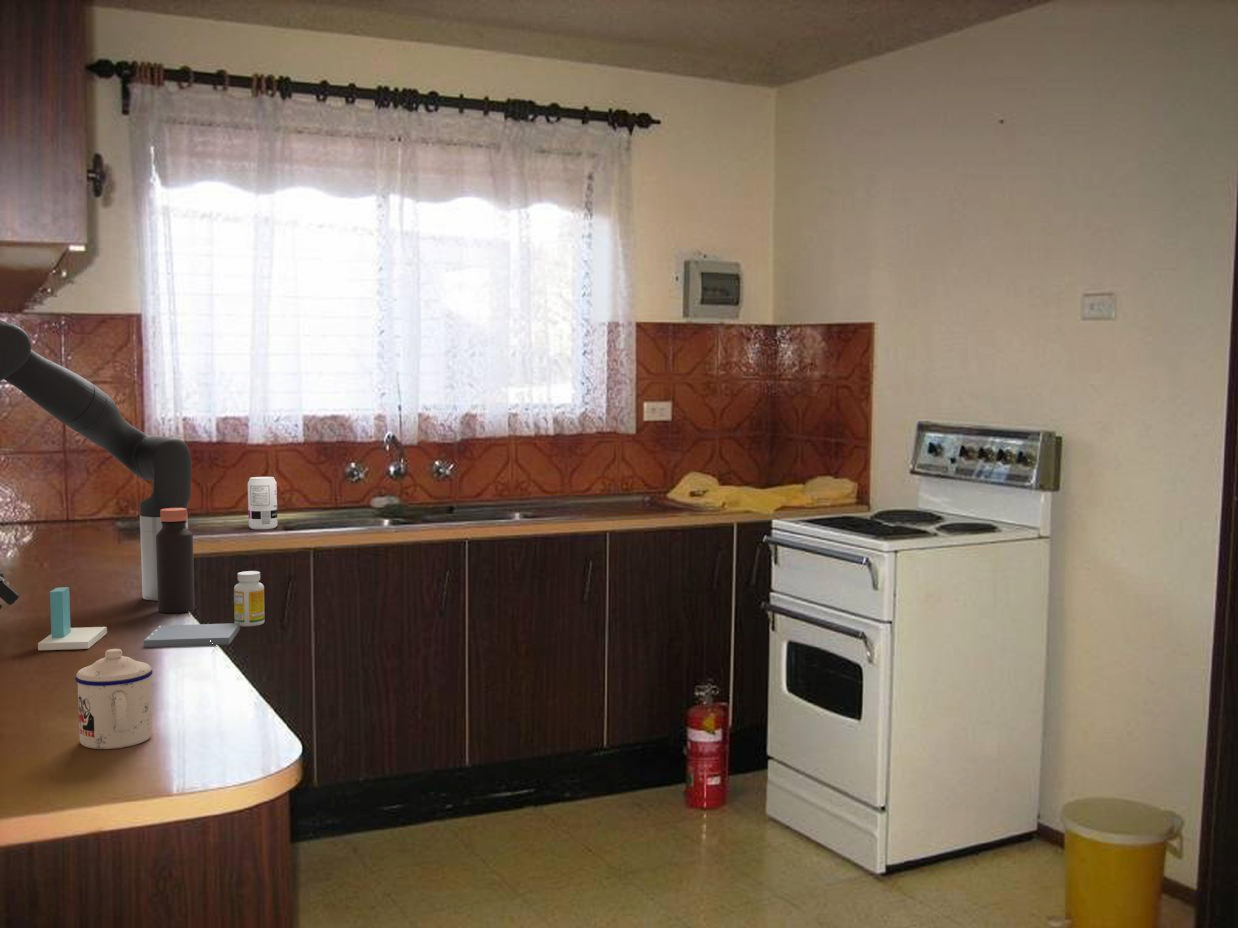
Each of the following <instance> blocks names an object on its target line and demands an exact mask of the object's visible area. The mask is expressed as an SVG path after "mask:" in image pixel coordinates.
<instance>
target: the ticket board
mask: <svg viewBox="0 0 1238 928" xmlns="http://www.w3.org/2000/svg"><path fill="white" fill-rule="evenodd" d="M240 630H241V626H240V623H235V622H233V623H229V622H228V623H202V624H201V623H200V624H198V623H197V624H171V625H168V624H167V625H158V626H157V627H156V628H155V629H154V630H153V631H152V632H151V633H150V634H148V636H147V637H145V639H143V647H144V648H161V647H187V646H193V647H194V646H216V645H217V646H222V645H230V644H231V643H232V641H233V640H234V638H235V637H236V636H237V635H238V633H239V632H240ZM210 640H211V642H210ZM212 643H213V644H214V645H212Z"/></svg>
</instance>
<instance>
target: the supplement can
mask: <svg viewBox="0 0 1238 928" xmlns="http://www.w3.org/2000/svg"><path fill="white" fill-rule="evenodd" d="M277 487H278V483H277V481H276V479H275V477H274V476H253V477H252V476H251V477H249V479H248V481H247V506H248V508H247V509H248V511H247V512H248V514H247V515H248V527H249V528H250V529H251V530H260V531H261V530H272V529H275V528H276V527H277V526H278V524H279V523H278V495H277V494H278V488H277Z"/></svg>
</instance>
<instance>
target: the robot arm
mask: <svg viewBox="0 0 1238 928" xmlns="http://www.w3.org/2000/svg"><path fill="white" fill-rule="evenodd" d="M3 380H4V381H5V382H7V383H9V384H11V385H12V386H13V387H15V388H17V390H19V391H21V392H22V393H23V394H24V395H26V396H27V397H28V398H29V399H30V400H31V401H33V402H34V403H35V404H37V405H38V406H40V408H42V409H43V410H45V411H46V412H47V413H48V414H50V415H51V416H52V417H54V418H55V419H56V420H58V421H59V422H61V423H62V424H64V425H66V426H67V427H68V428H70V429H71V430H73V431H75V432H76V433H78V434H80V435H81V436H83V437H84V438H86V439H88V440H89V441H90V442H92V443H94V444H95V445H97V446H98V447H100V448H102V449H103V450H106V451H107V452H108V453H109V454H110V455H111V456H113V457H114V458H116V460H118V461H119V462H120V463H121V464H122V465H124V466H125V467H126V468H127V469H128V470H129V471H130V472H132V473H133V474H134V475H135V476H137V477H139V478H141V479H143V480H145V481H149V482H153V484H152V485H153V486H152V493H151V495H150V496H149V497H147V498H145V499H143V500H142V501H140V503H139V529H140V532H139V533H140V556H141V557H140V561H141V564H140V565H141V591H142V599H143V600H145V601H146V600H147V601H158V588H157V556H156V535H157V534H158V532H159V531H160V530H161V529H162V528H163V527H162V523H161V522H162V521H161V520H160V510H161V509H166V508H186V509H187V510H188V507H189V506H188V505H189V504H190V501H191V496H192V472H193V471H192V470H193V469H192V466H193V465H192V455H191V451H190V448H189V446H188V445H187V443H186V442H185V441H183V440H182V439H181V438H178V437H173V436H172V437H170V436H154V435H149V434H147V433H145V432H143V431H142V430H140V429H138V428H137V427H135V426H133V425H132V424H130V423H129V421H128V422H127V420H125V418H123V415H122V414H121V412H120V410H119V408H118V406H117V405H116V403H115V401H114V400H113V399H112V398H111V396H109V395H108V394H107V393H106V392H104V391H103V390H102V389H100V388H99V387H98V386H96V385H95V384H93V383H92V382H91V381H89V380H87V379H86V378H84V377H82V376H81V375H79V374H78V373H75V372H74V371H71V370H70V369H68V368H66V367H64V366H63V365H60V364H58V363H55V362H54V361H52V360H49V359H47V358H45V357H43V356H42V355H40V354H39V353H37V352H36V351H35V350H33V349H32V343H31V339H30V337H29V335H28V333H27V332H26V331H25V330H24V329H23V328H22V327H19V326H18V325H16V324H13V323H11V322H8V321H5V320H1V319H0V382H2V381H3ZM186 521H187V522H186V528H187V529H188V530H189V523H188V522H189V520H188V515H187V520H186ZM5 577H6V575H5V573H3V572H2V571H1V570H0V599H1V600H3V602H4V603H6V604H7V605H8V606H11V605H13V604H15V602H17V600H19V599H20V595H19V593H17V592H16V591H15V590H14V589H13V588H12V587H10V585H8V584H7V583H6V582H5ZM2 608H3V603H2V602H0V610H1V609H2Z"/></svg>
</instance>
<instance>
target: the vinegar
mask: <svg viewBox="0 0 1238 928" xmlns="http://www.w3.org/2000/svg"><path fill="white" fill-rule="evenodd" d="M187 516H188V508H187V509H186V508H166V509H161V510H160V520H161V521H162V522H161V523H162V527H163V528H162V529H161V530H160V531H159V532H158V534H157V535H156V556H157V588H158V600H157V609H158V612H159V613H161V614H167V615H168V614H170V615H171V614H172V615H173V614H183V613H189V612H192V611H194V610H195V608H196V606H195V605H196V603H195V573H194V572H195V569H194V568H195V567H194V565H195V564H194V537H193V536H194V534H193V533H192V532H191V530H190V529H189V528H188V529H187V528H186V522H187V521H186V520H187Z"/></svg>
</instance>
